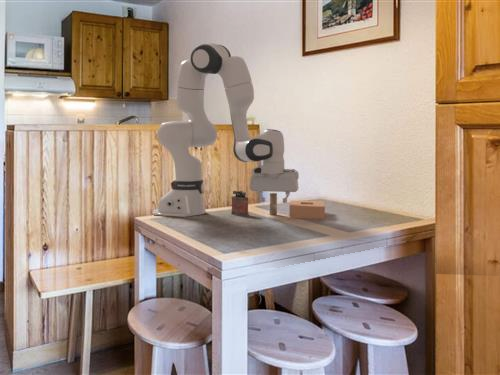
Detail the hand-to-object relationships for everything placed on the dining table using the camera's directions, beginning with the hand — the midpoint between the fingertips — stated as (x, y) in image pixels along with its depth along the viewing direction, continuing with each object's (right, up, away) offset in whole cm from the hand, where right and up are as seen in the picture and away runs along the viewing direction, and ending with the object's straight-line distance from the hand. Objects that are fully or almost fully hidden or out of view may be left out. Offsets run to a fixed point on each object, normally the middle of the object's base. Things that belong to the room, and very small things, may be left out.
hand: (274, 202), depth 185 cm
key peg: (0, -5, +2) cm, 6 cm away
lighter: (-14, -5, +3) cm, 15 cm away
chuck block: (+14, -5, 0) cm, 15 cm away
